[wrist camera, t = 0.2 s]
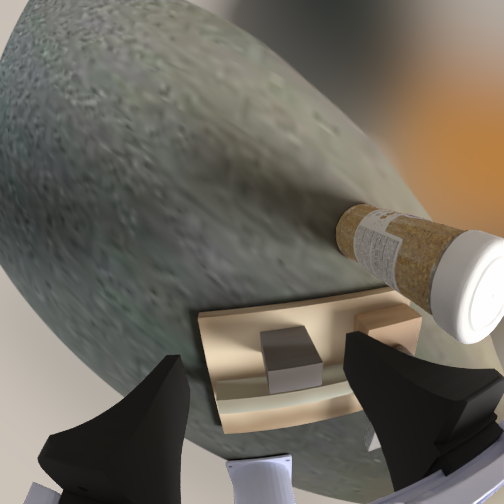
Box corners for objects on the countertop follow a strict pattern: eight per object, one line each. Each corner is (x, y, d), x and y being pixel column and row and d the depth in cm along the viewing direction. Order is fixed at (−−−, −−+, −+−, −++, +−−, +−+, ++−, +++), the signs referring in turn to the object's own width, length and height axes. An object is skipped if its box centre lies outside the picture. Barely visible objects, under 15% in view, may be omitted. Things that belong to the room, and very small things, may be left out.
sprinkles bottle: (386, 205, 20) (527, 241, 7) (380, 260, 21) (501, 337, 8) (335, 200, 20) (475, 235, 7) (330, 260, 21) (442, 357, 8)
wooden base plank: (384, 396, 25) (407, 430, 20) (224, 427, 24) (225, 471, 19) (406, 283, 22) (446, 309, 16) (198, 312, 21) (189, 356, 15)
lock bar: (380, 350, 19) (392, 364, 17) (411, 341, 19) (423, 354, 17) (358, 442, 22) (365, 455, 20) (383, 434, 22) (390, 446, 20)
